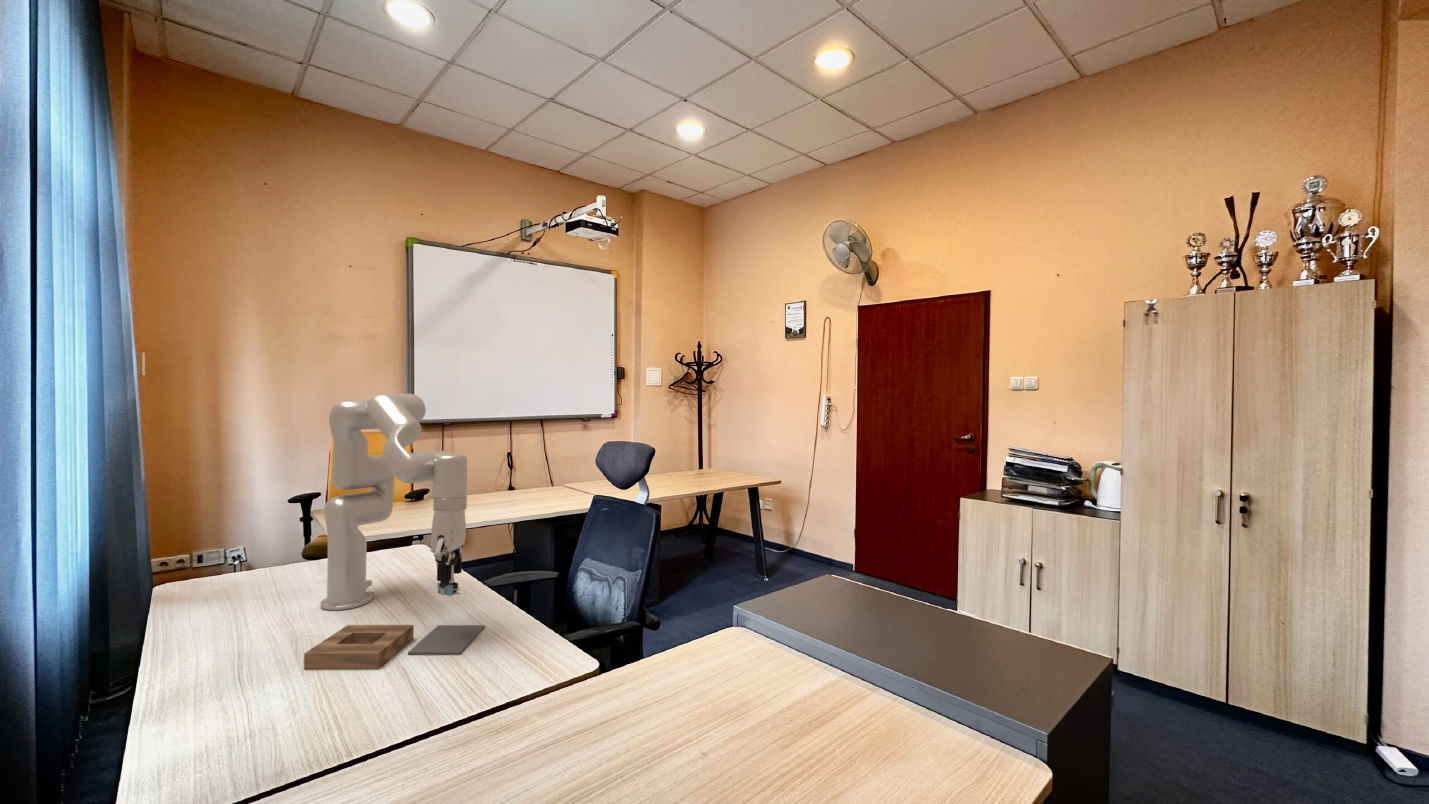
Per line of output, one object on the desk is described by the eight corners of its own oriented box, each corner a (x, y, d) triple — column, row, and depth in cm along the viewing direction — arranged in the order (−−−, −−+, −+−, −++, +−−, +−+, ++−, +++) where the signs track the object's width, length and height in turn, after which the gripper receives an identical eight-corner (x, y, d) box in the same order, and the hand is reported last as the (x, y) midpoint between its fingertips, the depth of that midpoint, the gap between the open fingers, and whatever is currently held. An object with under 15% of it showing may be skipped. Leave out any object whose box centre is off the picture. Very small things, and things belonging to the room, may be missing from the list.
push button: (467, 592, 143) (467, 552, 142) (450, 599, 138) (449, 558, 137) (448, 588, 145) (448, 549, 145) (430, 595, 141) (430, 555, 140)
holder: (347, 638, 142) (347, 624, 142) (413, 638, 142) (413, 624, 142) (303, 669, 126) (304, 653, 126) (378, 669, 126) (378, 653, 126)
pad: (438, 627, 149) (438, 625, 149) (484, 627, 150) (484, 625, 150) (407, 654, 133) (407, 652, 133) (459, 654, 134) (460, 652, 134)
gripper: (449, 497, 150) (448, 566, 150) (418, 510, 133) (417, 588, 133) (478, 498, 150) (477, 566, 150) (451, 510, 133) (450, 588, 133)
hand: (449, 576), depth 142 cm, fingers closed on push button, 5 cm apart
